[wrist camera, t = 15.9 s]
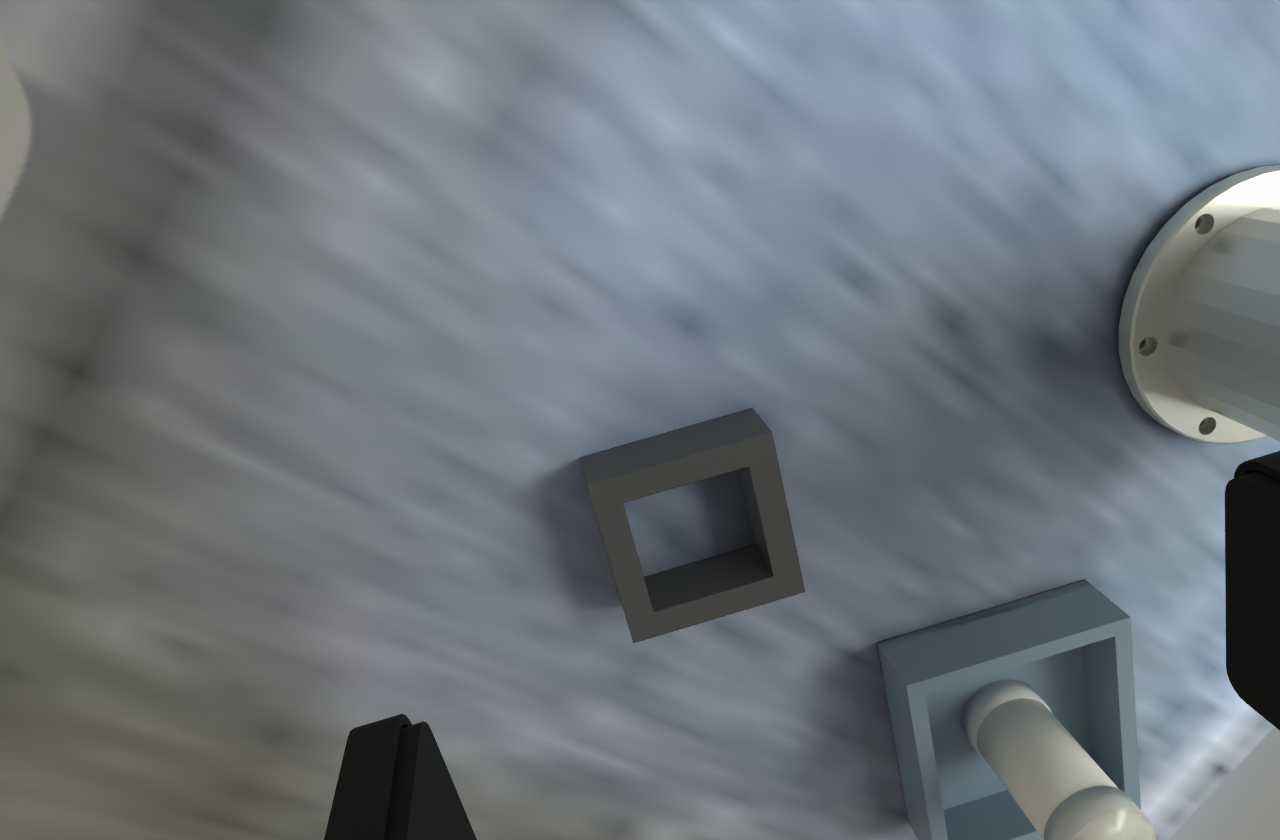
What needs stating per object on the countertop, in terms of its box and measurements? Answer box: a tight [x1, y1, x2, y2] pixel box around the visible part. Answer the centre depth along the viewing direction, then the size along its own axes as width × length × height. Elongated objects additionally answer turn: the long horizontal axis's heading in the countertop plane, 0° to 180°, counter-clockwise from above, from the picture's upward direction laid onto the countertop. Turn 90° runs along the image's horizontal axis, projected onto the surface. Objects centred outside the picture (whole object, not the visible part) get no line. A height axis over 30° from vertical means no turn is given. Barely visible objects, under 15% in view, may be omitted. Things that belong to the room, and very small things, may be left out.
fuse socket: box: [580, 408, 805, 643], centre depth 40 cm, size 8×8×3 cm
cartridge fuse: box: [961, 679, 1155, 840], centre depth 43 cm, size 4×4×9 cm
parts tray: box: [877, 580, 1141, 840], centre depth 46 cm, size 11×12×4 cm
